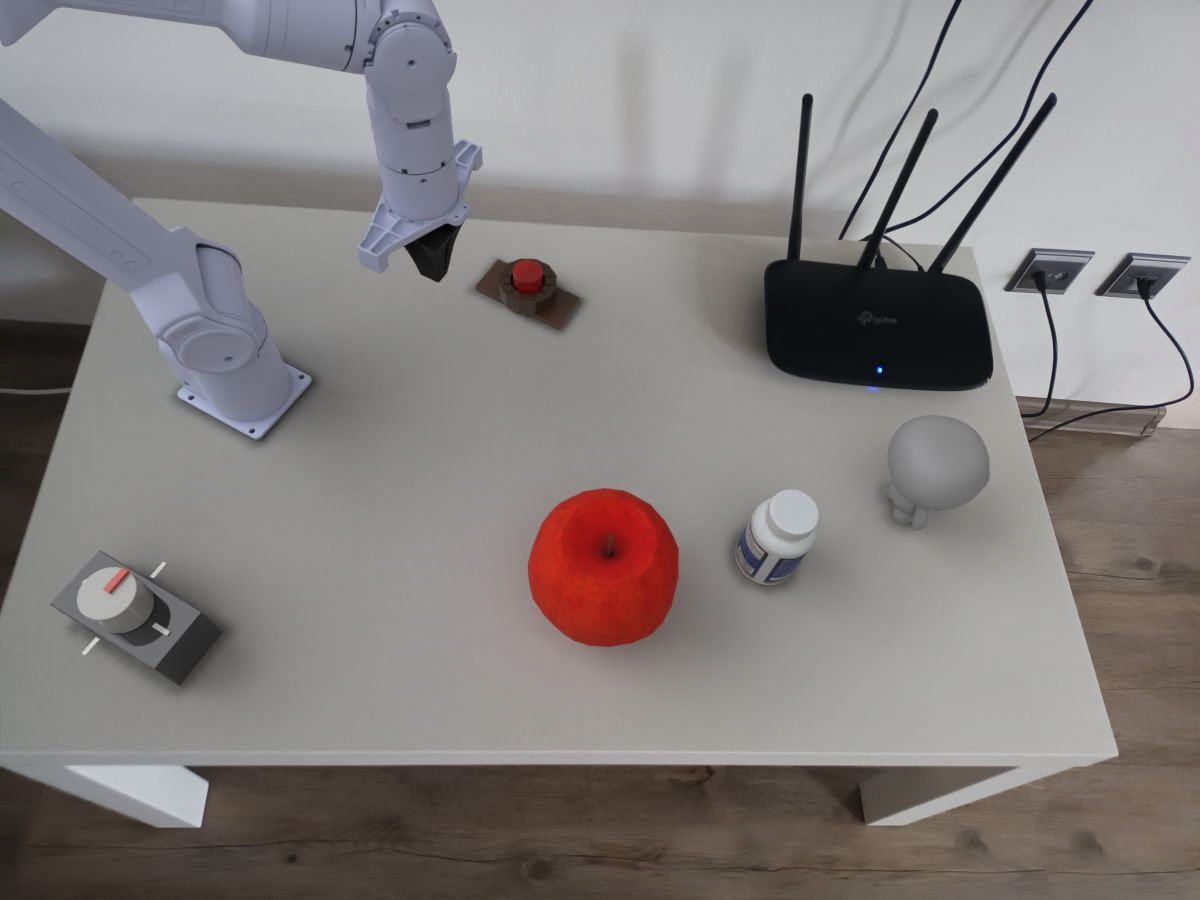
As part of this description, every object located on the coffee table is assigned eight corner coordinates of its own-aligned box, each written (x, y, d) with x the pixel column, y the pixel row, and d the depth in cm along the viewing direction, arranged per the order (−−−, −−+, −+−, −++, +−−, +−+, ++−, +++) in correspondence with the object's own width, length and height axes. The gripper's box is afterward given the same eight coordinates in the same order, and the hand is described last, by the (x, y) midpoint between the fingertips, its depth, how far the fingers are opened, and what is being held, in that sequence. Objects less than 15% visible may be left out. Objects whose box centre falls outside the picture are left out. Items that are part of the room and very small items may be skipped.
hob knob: (126, 643, 60) (105, 628, 57) (84, 617, 60) (61, 601, 57) (166, 597, 61) (147, 581, 58) (124, 573, 62) (104, 555, 59)
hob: (65, 641, 64) (30, 621, 60) (141, 557, 68) (114, 532, 64) (164, 705, 62) (136, 688, 58) (237, 615, 66) (216, 593, 62)
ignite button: (507, 286, 83) (507, 274, 81) (522, 267, 84) (522, 255, 83) (532, 298, 82) (533, 286, 81) (547, 279, 84) (548, 267, 82)
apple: (681, 655, 67) (713, 601, 56) (542, 685, 65) (546, 635, 54) (645, 527, 73) (668, 454, 61) (516, 551, 71) (514, 480, 59)
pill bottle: (799, 541, 73) (834, 493, 65) (786, 595, 71) (821, 552, 62) (741, 522, 74) (769, 471, 66) (727, 574, 71) (753, 528, 63)
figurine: (947, 544, 75) (1016, 483, 64) (869, 550, 74) (926, 490, 63) (920, 467, 78) (980, 398, 68) (845, 472, 78) (895, 404, 67)
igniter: (471, 295, 85) (470, 278, 83) (501, 259, 87) (501, 242, 85) (555, 335, 83) (556, 319, 81) (583, 297, 86) (584, 281, 84)
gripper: (403, 230, 56) (424, 348, 68) (512, 114, 63) (514, 240, 75) (320, 190, 58) (355, 313, 69) (435, 81, 64) (449, 210, 76)
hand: (433, 273), depth 72 cm, fingers closed
